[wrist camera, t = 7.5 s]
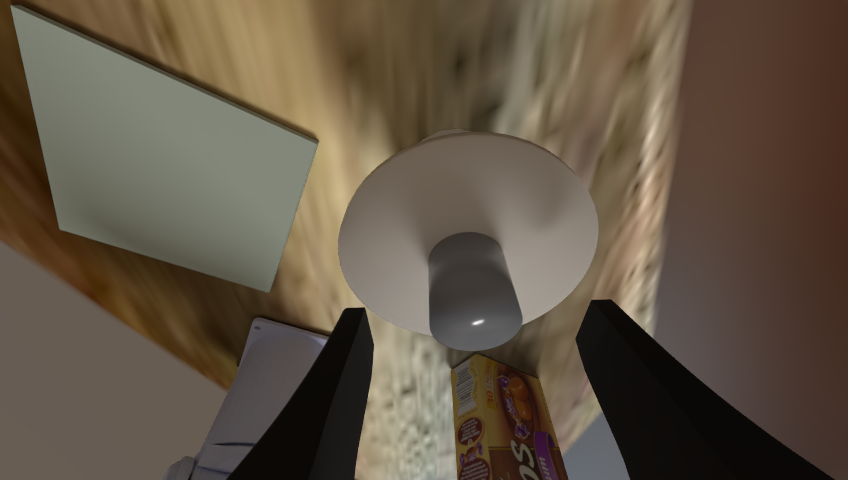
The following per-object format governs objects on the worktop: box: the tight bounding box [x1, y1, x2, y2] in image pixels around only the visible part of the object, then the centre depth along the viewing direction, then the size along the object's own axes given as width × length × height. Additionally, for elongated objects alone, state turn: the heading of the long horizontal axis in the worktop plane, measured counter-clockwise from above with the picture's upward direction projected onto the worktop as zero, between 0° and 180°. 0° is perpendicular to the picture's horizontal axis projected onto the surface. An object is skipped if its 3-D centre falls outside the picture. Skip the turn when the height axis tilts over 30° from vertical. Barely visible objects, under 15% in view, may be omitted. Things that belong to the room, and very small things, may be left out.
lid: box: [338, 132, 598, 351], centre depth 12 cm, size 10×10×4 cm
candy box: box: [451, 354, 568, 480], centre depth 26 cm, size 9×4×15 cm, turn 55°
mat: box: [10, 5, 319, 293], centre depth 19 cm, size 13×13×1 cm
